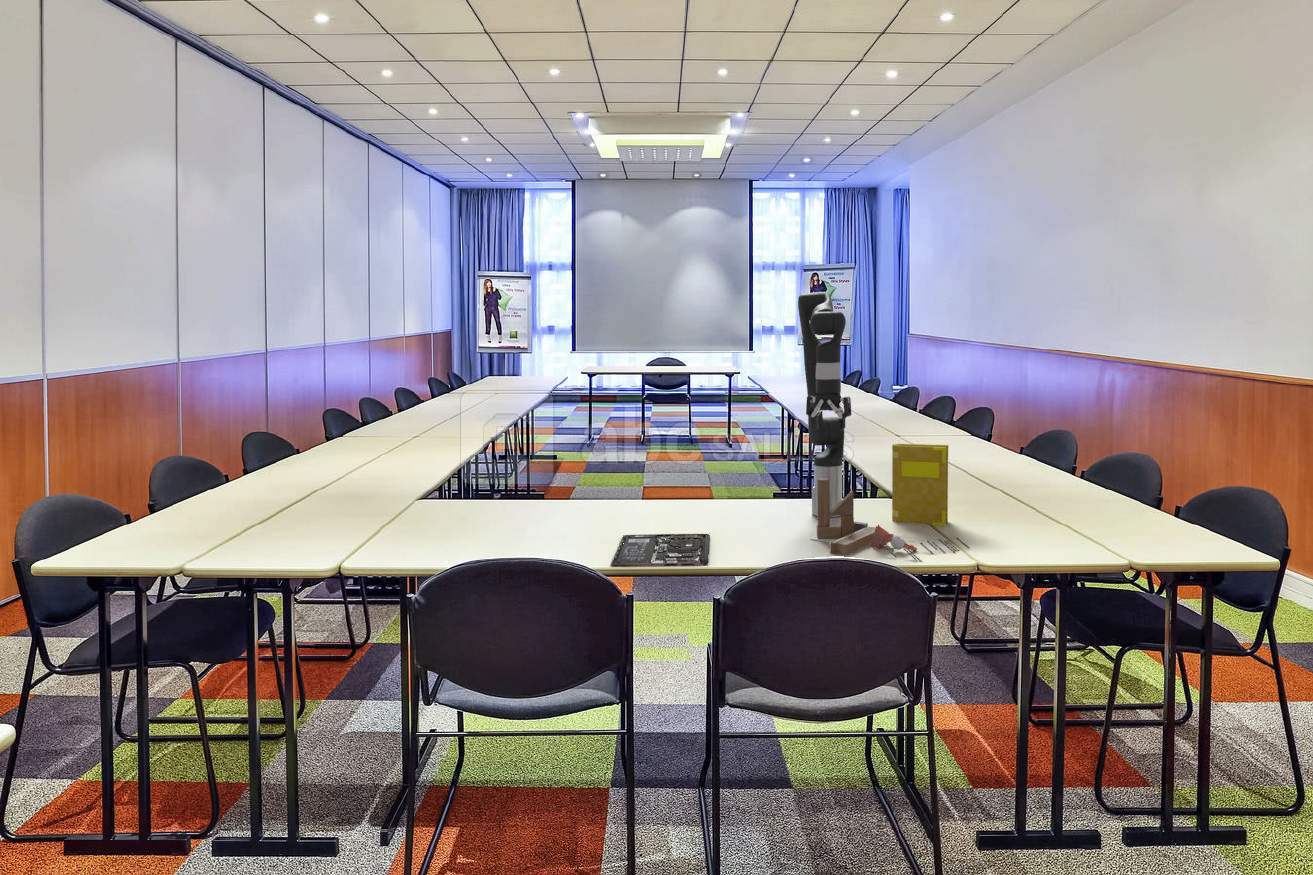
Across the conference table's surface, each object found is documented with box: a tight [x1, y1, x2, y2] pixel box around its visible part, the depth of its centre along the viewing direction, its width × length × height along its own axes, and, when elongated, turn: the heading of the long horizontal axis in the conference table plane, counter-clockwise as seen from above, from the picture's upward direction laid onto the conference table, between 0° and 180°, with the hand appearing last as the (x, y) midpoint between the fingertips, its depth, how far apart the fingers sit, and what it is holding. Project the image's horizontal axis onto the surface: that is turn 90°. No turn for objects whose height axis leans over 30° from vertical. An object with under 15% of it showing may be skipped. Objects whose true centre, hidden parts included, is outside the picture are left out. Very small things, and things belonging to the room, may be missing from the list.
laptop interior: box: [610, 533, 711, 567], centre depth 275 cm, size 35×28×2 cm
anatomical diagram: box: [870, 524, 971, 563], centre depth 266 cm, size 20×9×25 cm
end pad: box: [810, 535, 840, 544], centre depth 281 cm, size 12×8×1 cm, turn 52°
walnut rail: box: [829, 521, 876, 556], centre depth 275 cm, size 10×24×4 cm, turn 142°
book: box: [891, 443, 949, 527], centre depth 300 cm, size 17×7×25 cm, turn 65°
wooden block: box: [816, 478, 855, 539], centre depth 282 cm, size 4×11×18 cm, turn 84°
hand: (828, 430), depth 287 cm, fingers open, 8 cm apart
